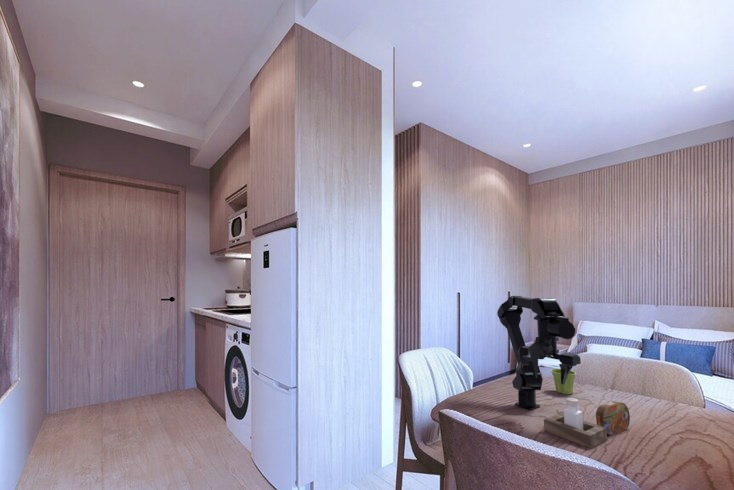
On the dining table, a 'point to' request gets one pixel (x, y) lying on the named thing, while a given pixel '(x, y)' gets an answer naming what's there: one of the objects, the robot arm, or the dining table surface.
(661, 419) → the dining table surface
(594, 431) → the guide block
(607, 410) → the tin
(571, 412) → the pepper shaker
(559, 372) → the plant pot
